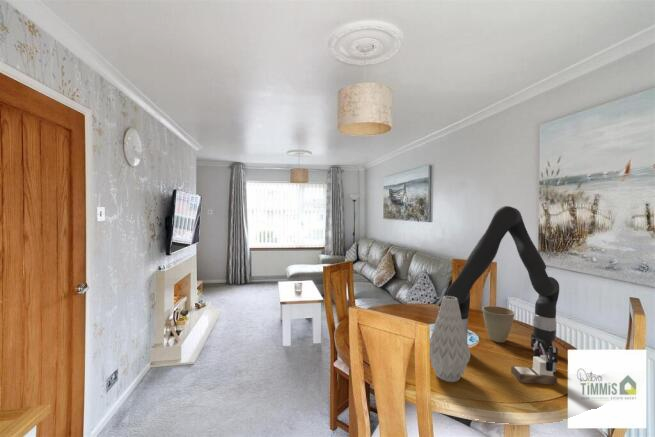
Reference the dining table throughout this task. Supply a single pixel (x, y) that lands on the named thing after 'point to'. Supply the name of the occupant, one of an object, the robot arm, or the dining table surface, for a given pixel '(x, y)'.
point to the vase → (449, 342)
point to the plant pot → (498, 322)
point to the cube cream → (541, 366)
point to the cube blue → (553, 364)
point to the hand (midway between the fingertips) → (542, 365)
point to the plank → (532, 376)
